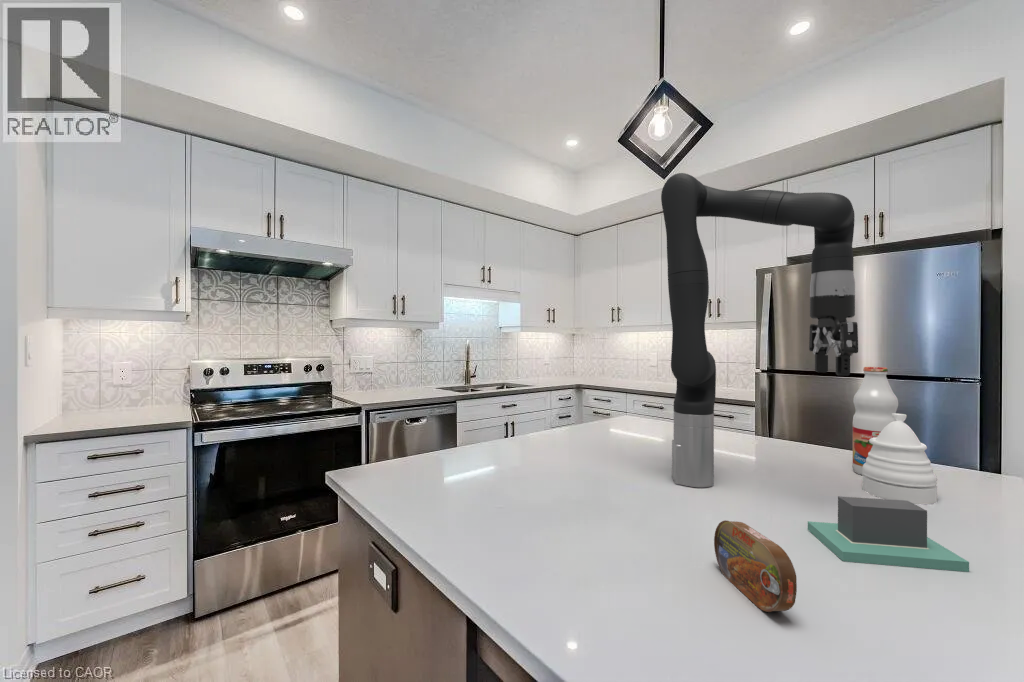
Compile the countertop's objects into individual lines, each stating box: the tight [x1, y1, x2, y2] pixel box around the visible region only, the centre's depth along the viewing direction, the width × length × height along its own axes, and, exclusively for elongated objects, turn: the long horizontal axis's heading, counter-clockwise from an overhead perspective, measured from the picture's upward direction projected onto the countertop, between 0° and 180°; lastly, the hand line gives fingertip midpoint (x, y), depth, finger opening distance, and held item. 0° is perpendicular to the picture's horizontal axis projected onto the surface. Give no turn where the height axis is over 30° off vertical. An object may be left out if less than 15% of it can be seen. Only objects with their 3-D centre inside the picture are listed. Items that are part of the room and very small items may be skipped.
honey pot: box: [861, 412, 938, 506], centre depth 101 cm, size 13×13×18 cm
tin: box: [713, 520, 798, 613], centre depth 62 cm, size 15×3×8 cm, turn 5°
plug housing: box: [837, 495, 928, 548], centre depth 75 cm, size 11×5×6 cm, turn 79°
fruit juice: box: [852, 366, 899, 476], centre depth 116 cm, size 9×9×28 cm
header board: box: [807, 521, 970, 573], centre depth 75 cm, size 17×12×5 cm
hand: (831, 373), depth 91 cm, fingers open, 8 cm apart
